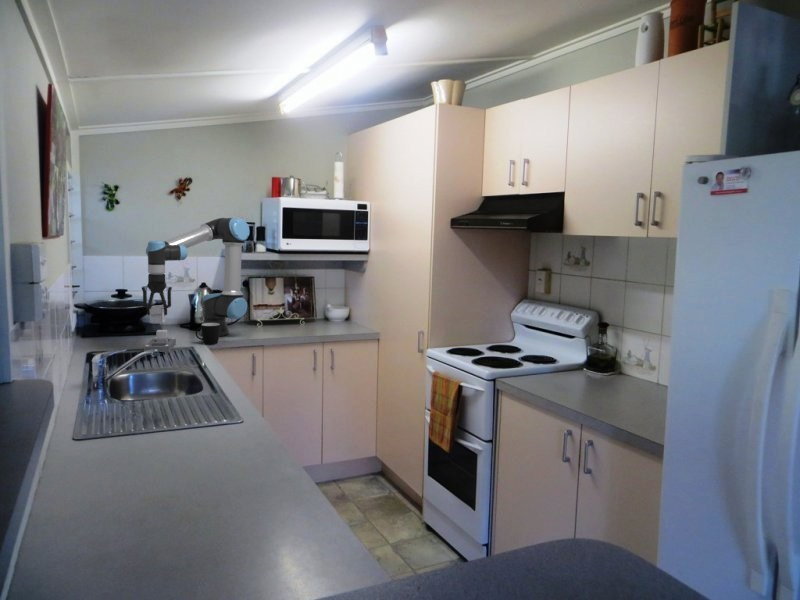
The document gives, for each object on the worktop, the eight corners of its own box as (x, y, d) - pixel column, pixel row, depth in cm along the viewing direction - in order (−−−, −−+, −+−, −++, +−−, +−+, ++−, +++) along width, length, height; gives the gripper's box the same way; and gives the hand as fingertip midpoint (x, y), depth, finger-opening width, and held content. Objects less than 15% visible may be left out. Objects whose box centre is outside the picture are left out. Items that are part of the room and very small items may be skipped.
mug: (221, 342, 310) (221, 322, 309) (218, 345, 301) (218, 325, 300) (197, 341, 309) (197, 322, 307) (193, 345, 300) (193, 325, 299)
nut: (163, 321, 286) (163, 305, 285) (161, 323, 282) (161, 306, 281) (153, 321, 285) (152, 305, 284) (151, 323, 281) (150, 306, 280)
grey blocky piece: (175, 344, 301) (175, 328, 300) (168, 352, 281) (168, 336, 280) (152, 344, 299) (152, 329, 298) (144, 353, 279) (143, 336, 278)
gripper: (177, 273, 286) (178, 320, 289) (138, 272, 283) (139, 320, 285) (175, 274, 279) (175, 323, 282) (134, 273, 275) (135, 323, 278)
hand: (157, 321), depth 283 cm, fingers closed on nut, 5 cm apart
